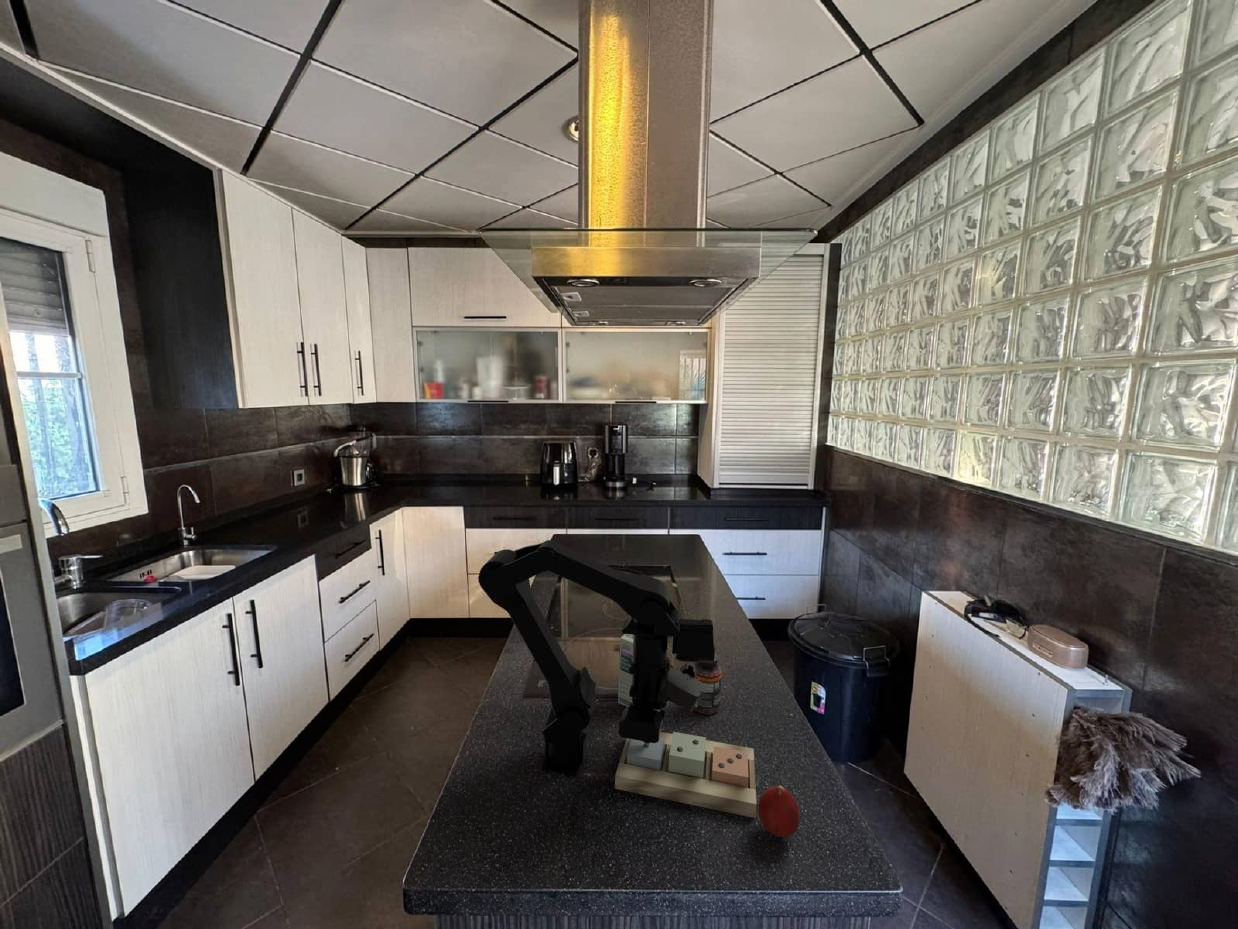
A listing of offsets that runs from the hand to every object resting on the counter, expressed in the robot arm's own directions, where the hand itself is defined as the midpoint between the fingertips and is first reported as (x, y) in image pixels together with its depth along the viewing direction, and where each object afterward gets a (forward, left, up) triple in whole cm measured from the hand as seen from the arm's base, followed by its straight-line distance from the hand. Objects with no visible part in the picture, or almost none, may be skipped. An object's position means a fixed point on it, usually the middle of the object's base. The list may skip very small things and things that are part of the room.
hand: (646, 741), depth 84 cm
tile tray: (+7, 0, -5) cm, 8 cm away
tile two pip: (+7, 0, -2) cm, 7 cm away
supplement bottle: (+9, +19, -5) cm, 22 cm away
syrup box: (-5, +17, -5) cm, 18 cm away
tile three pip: (+14, 0, -4) cm, 14 cm away
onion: (+21, -8, -5) cm, 23 cm away
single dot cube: (0, 0, -4) cm, 4 cm away
